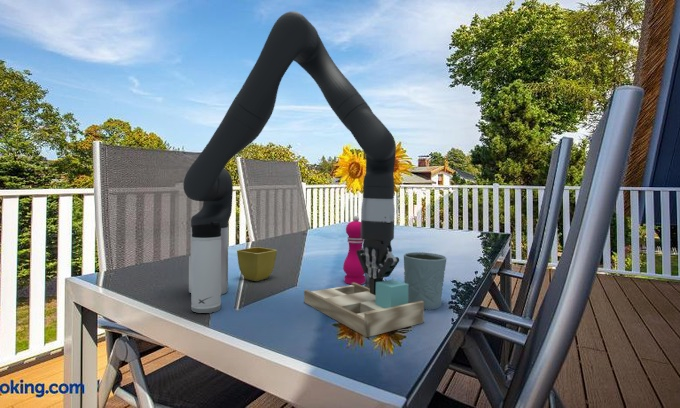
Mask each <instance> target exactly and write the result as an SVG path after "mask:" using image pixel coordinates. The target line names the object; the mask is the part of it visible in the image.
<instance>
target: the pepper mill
mask: <svg viewBox="0 0 680 408" xmlns="http://www.w3.org/2000/svg"><path fill="white" fill-rule="evenodd" d="M359 220H360V217H359V216H358V215H354V216H353V217H352V221H350V222H348V223H347V225H346V226H345V233H346V235H347V236H348V237H347V243H348V252H347V255H346V258H345V259H344V262H343V265H342V266H343V267H342V269H343V271H344V273H345V275H344V283H345V284H348V285H352V283H357V284H360V285H364V284H365V283H366V276H365V274H366V273H364V271H363V268H362V266H361V263H360V261H359V258H358V256H357V253H356V251H357V250H361V249H362V248H363V243H364V239H362V238H361V221H359Z"/></svg>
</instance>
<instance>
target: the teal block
mask: <svg viewBox="0 0 680 408" xmlns="http://www.w3.org/2000/svg"><path fill="white" fill-rule="evenodd" d="M408 286H409V284H406V283H405V282H403V281H400V280H396V279H387V280H382V281H380V282H376V297H375V305H377V306H380V307H382V308H384V309H385V308H390V307H395V306H399V305H404V304H408Z"/></svg>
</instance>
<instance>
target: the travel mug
mask: <svg viewBox="0 0 680 408" xmlns="http://www.w3.org/2000/svg"><path fill="white" fill-rule="evenodd" d="M190 296H191V298H190V299H191V300H190V301H191V302H190V303H191V306H190V309H191V310H192V311H194V312H199V313H209V314H213V313H212V312H214V313H217V312H218V311H220V310H221V308H222V305H221V304H222V295H221V223H220V222H211V224H201V225H192V264H191V294H190ZM192 311H191V312H192Z"/></svg>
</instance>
